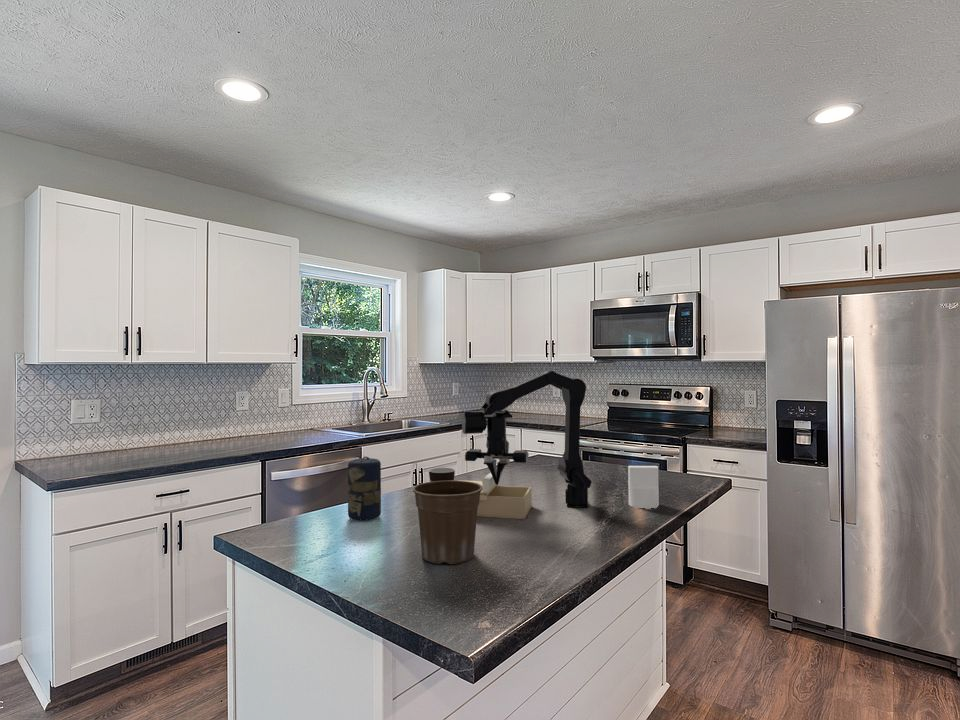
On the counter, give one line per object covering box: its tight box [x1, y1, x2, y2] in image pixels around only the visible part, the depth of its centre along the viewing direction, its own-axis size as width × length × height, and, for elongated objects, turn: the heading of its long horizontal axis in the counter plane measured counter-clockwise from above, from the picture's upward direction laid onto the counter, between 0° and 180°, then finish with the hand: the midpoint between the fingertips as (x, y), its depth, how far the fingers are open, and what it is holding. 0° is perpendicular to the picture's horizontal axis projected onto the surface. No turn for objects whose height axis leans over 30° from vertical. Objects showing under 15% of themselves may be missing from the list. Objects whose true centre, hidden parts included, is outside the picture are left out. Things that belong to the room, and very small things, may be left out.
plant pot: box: [412, 479, 483, 565], centre depth 127 cm, size 16×16×16 cm
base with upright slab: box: [627, 465, 660, 510], centre depth 170 cm, size 9×9×12 cm
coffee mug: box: [428, 467, 456, 482], centre depth 180 cm, size 12×9×10 cm
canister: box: [347, 456, 382, 522], centre depth 159 cm, size 10×10×18 cm
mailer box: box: [477, 485, 533, 520], centre depth 165 cm, size 16×14×6 cm
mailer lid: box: [455, 472, 499, 500], centre depth 168 cm, size 16×16×5 cm
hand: (497, 484), depth 165 cm, fingers closed
